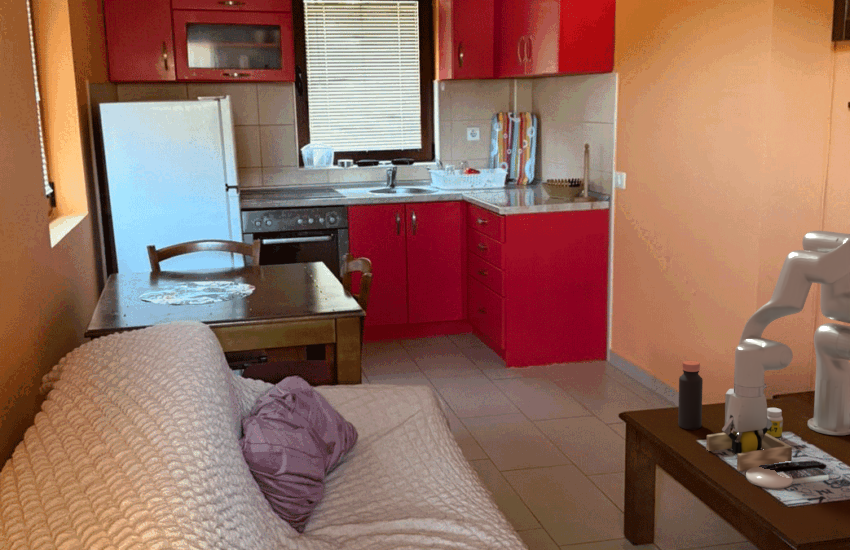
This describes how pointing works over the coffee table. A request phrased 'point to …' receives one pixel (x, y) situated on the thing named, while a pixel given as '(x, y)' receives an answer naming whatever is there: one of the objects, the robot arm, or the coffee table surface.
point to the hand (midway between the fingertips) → (746, 452)
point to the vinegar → (690, 396)
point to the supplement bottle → (775, 422)
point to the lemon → (748, 442)
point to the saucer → (767, 478)
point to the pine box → (745, 461)
